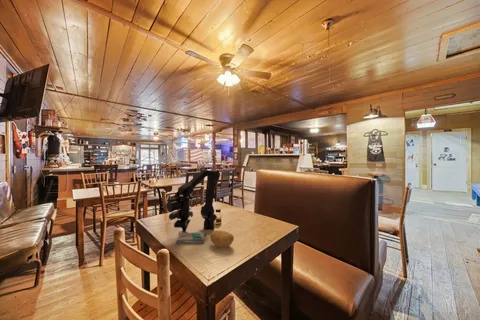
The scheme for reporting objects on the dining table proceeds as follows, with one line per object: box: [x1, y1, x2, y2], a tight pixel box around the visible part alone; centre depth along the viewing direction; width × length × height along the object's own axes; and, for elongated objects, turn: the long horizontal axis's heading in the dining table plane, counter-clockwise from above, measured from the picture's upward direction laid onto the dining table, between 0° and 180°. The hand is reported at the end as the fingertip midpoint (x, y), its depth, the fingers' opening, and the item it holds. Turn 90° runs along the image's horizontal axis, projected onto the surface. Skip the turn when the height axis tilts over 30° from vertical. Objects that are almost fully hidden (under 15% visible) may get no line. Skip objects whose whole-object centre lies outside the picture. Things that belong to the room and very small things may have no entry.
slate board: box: [174, 233, 208, 245], centre depth 109 cm, size 16×11×2 cm
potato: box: [209, 230, 235, 249], centre depth 102 cm, size 10×14×8 cm
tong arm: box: [177, 230, 206, 237], centre depth 108 cm, size 16×2×2 cm, turn 82°
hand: (184, 232), depth 111 cm, fingers closed
